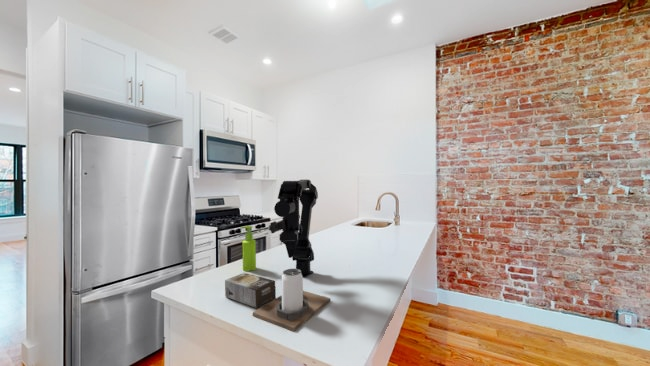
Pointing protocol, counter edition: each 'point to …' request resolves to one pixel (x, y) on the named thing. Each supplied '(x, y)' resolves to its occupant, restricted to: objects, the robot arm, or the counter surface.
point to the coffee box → (250, 289)
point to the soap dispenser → (249, 250)
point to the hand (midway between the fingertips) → (292, 254)
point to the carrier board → (289, 324)
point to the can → (292, 290)
